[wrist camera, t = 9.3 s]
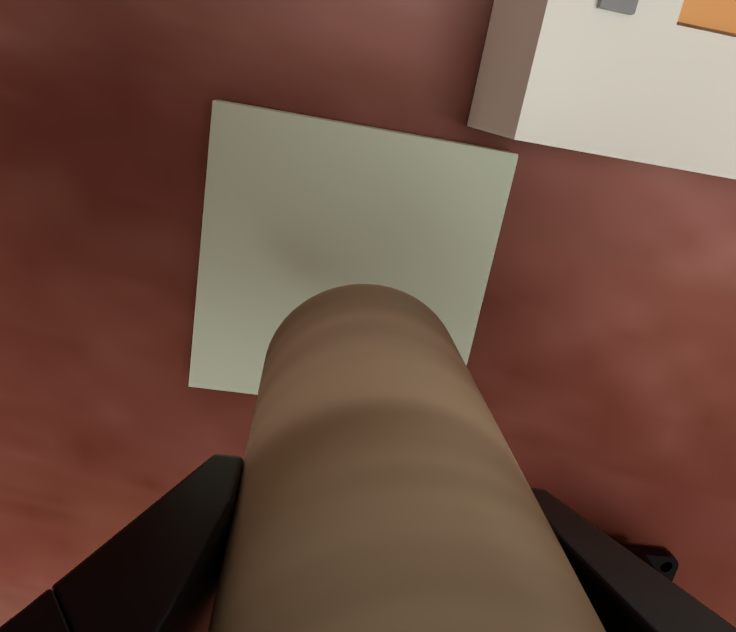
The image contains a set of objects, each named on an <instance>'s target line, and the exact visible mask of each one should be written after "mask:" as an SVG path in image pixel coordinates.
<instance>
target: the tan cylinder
mask: <svg viewBox="0 0 736 632" xmlns="http://www.w3.org/2000/svg"><path fill="white" fill-rule="evenodd" d="M208 632H606V631H605V629H604V627H603V625H602V623H601V621H600V619H599V617H598V615H597V614H596V612H595V610H594V608H593V606H592V604H591V602H590V600H589V598H588V596H587V595H586V593H585V591H584V589H583V587H582V585H581V583H580V581H579V579H578V577H577V576H576V574H575V572H574V570H573V568H572V566H571V564H570V562H569V560H568V558H567V557H566V555H565V553H564V551H563V549H562V547H561V545H560V543H559V541H558V539H557V538H556V536H555V534H554V532H553V530H552V528H551V526H550V524H549V522H548V520H547V518H546V517H545V515H544V513H543V511H542V509H541V507H540V505H539V503H538V501H537V499H536V498H535V496H534V494H533V492H532V490H531V488H530V486H529V484H528V482H527V480H526V479H525V477H524V475H523V473H522V471H521V469H520V467H519V465H518V463H517V461H516V460H515V458H514V456H513V454H512V452H511V450H510V448H509V446H508V444H507V442H506V441H505V439H504V437H503V435H502V433H501V431H500V429H499V427H498V425H497V423H496V422H495V420H494V418H493V416H492V414H491V412H490V410H489V408H488V406H487V404H486V402H485V401H484V399H483V397H482V395H481V393H480V391H479V389H478V387H477V385H476V383H475V382H474V380H473V378H472V376H471V374H470V372H469V370H468V368H467V366H466V364H465V363H464V361H463V359H462V357H461V355H460V353H459V351H458V349H457V347H456V345H455V344H454V342H453V340H452V338H451V336H450V334H449V332H448V331H447V329H446V327H445V326H444V324H443V322H442V321H441V320H440V319H439V318H438V316H437V315H436V314H435V313H434V312H433V311H432V310H431V309H430V308H429V307H428V306H427V305H425V304H424V303H422V302H421V301H420V300H418V299H417V298H415V297H413V296H411V295H409V294H407V293H405V292H403V291H400V290H397V289H394V288H392V287H387V286H382V285H375V284H351V285H345V286H339V287H336V288H332V289H329V290H326V291H323V292H321V293H319V294H317V295H315V296H313V297H311V298H309V299H308V300H306V301H305V302H303V303H302V304H300V305H299V306H298V307H297V308H295V309H294V310H293V311H292V312H291V313H290V314H289V315H288V316H287V317H286V318H285V319H284V320H283V322H282V323H281V324H280V326H279V327H278V329H277V330H276V332H275V334H274V336H273V337H272V339H271V341H270V344H269V347H268V350H267V352H266V357H265V362H264V366H263V371H262V376H261V381H260V385H259V390H258V395H257V400H256V404H255V409H254V414H253V419H252V423H251V428H250V433H249V438H248V443H247V447H246V452H245V457H244V462H243V469H242V474H241V479H240V484H239V488H238V493H237V498H236V503H235V508H234V512H233V517H232V522H231V526H230V530H229V535H228V538H227V543H226V547H225V552H224V557H223V562H222V567H221V571H220V576H219V581H218V586H217V590H216V595H215V600H214V605H213V609H212V614H211V619H210V624H209V629H208Z"/></svg>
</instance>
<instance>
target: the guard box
mask: <svg viewBox="0 0 736 632" xmlns="http://www.w3.org/2000/svg"><path fill="white" fill-rule="evenodd" d="M683 2H684V0H494V3H493V8H492V13H491V17H490V22H489V26H488V31H487V36H486V40H485V45H484V49H483V54H482V59H481V63H480V68H479V73H478V77H477V82H476V86H475V91H474V96H473V100H472V105H471V109H470V114H469V119H468V123H467V126H468V127H471V128H475V129H479V130H482V131H486V132H489V133H493V134H496V135H500V136H503V137H507V138H510V139H514V140H519V141H525V142H530V143H536V144H541V145H547V146H553V147H558V148H564V149H569V150H575V151H580V152H586V153H592V154H597V155H603V156H608V157H614V158H619V159H625V160H630V161H636V162H642V163H647V164H653V165H658V166H664V167H669V168H675V169H681V170H686V171H692V172H697V173H703V174H708V175H714V176H719V177H725V178H731V179H736V37H732V36H727V35H722V34H718V33H713V32H708V31H703V30H699V29H694V28H689V27H685V26H680V25H676V24H677V21H678V18H679V15H680V12H681V8H682V5H683Z"/></svg>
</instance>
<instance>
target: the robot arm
mask: <svg viewBox="0 0 736 632" xmlns="http://www.w3.org/2000/svg"><path fill="white" fill-rule="evenodd" d="M242 469H243V459H242V458H241V457H239V456H230V455H220V454H216V455H213V456H212V457H211V458H209V459H208V460H207V461H206V462H204V463H203V464H202V465H201V466H199V467H198V468H197V469H196V470H195V471H193V472H192V473H191V474H190V475H188V476H187V477H186V478H185V479H183V480H182V481H181V482H180V483H179V484H177V485H176V486H175V487H174V488H172V489H171V490H170V491H169V492H167V493H166V494H165V495H164V496H163V497H161V498H160V499H159V500H158V501H156V502H155V503H154V504H153V505H151V506H150V507H149V508H148V509H147V510H145V511H144V512H143V513H142V514H140V515H139V516H138V517H137V518H135V519H134V520H133V521H132V522H131V523H129V524H128V525H127V526H126V527H124V528H123V529H122V530H121V531H119V532H118V533H117V534H116V535H115V536H113V537H112V538H111V539H110V540H108V541H107V542H106V543H105V544H103V545H102V546H101V547H100V548H99V549H97V550H96V551H95V552H94V553H92V554H91V555H90V556H89V557H87V558H86V559H85V560H84V561H83V562H81V563H80V564H79V565H78V566H76V567H75V568H74V569H73V570H71V571H70V572H69V573H68V574H67V575H65V576H64V577H63V578H62V579H60V580H59V581H58V582H57V583H55V584H54V585H53V587H52V590H51V589H49V590H46V591H45V592H44V593H43V594H41V595H40V596H39V597H38V598H37V599H35V600H34V601H33V602H32V603H30V604H29V605H28V606H27V607H25V608H24V609H23V610H22V611H20V612H19V613H18V614H16V615H15V616H14V617H13V618H11V619H10V620H9V621H7V622H6V623H5V624H3V625H2V626H1V627H0V632H208V629H209V624H210V619H211V614H212V609H213V605H214V600H215V595H216V590H217V586H218V581H219V576H220V571H221V567H222V562H223V557H224V552H225V547H226V543H227V538H228V535H229V530H230V526H231V522H232V517H233V512H234V508H235V503H236V498H237V493H238V488H239V484H240V479H241V474H242ZM531 490H532V492H533V494H534V496H535V498H536V499H537V501H538V503H539V505H540V507H541V509H542V511H543V513H544V515H545V517H546V518H547V520H548V522H549V524H550V526H551V528H552V530H553V532H554V534H555V536H556V538H557V539H558V541H559V543H560V545H561V547H562V549H563V551H564V553H565V555H566V557H567V558H568V560H569V562H570V564H571V566H572V568H573V570H574V572H575V574H576V576H577V577H578V579H579V581H580V583H581V585H582V587H583V589H584V591H585V593H586V595H587V596H588V598H589V600H590V602H591V604H592V606H593V608H594V610H595V612H596V614H597V615H598V617H599V619H600V621H601V623H602V625H603V627H604V629H605V631H606V632H736V628H735V627H734V626H732V625H731V624H730V623H728V622H727V621H726V620H724V619H723V618H721V617H720V616H719V615H717V614H716V613H714V612H713V611H712V610H710V609H709V608H708V607H706V606H705V605H703V604H702V603H701V602H699V601H698V600H697V599H695V598H694V597H692V596H691V595H690V594H688V593H687V592H685V591H684V590H683V589H681V588H680V587H679V586H677V585H676V584H674V583H673V582H672V580H673V578H674V576H675V573H676V571H677V569H678V561H677V560H676V558H675V557H674V556H673V554H672V553H671V552H669V551H666V550H658V549H648V548H638V547H628V546H622V545H620V544H619V543H618V542H616V541H615V540H613V539H612V538H611V537H609V536H608V535H607V534H605V533H604V532H602V531H601V530H600V529H598V528H597V527H596V526H594V525H593V524H591V523H590V522H589V521H587V520H586V519H584V518H583V517H582V516H580V515H579V514H578V513H576V512H575V511H573V510H572V509H571V508H569V507H568V506H566V505H565V504H564V503H562V502H561V501H560V500H558V499H557V498H555V497H554V496H553V495H551V494H550V493H549V492H547V491H545V490H543V489H536V488H531ZM665 562H666V563H665ZM663 563H664V564H663ZM662 564H663V565H662Z"/></svg>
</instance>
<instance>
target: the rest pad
mask: <svg viewBox="0 0 736 632" xmlns="http://www.w3.org/2000/svg"><path fill="white" fill-rule="evenodd" d="M518 156H519V154H517V153H514V152H511V151H507V150H501V149H495V148H490V147H484V146H479V145H473V144H467V143H462V142H456V141H450V140H445V139H439V138H433V137H428V136H422V135H416V134H411V133H405V132H399V131H394V130H388V129H383V128H377V127H371V126H366V125H360V124H354V123H349V122H343V121H337V120H332V119H326V118H320V117H315V116H309V115H304V114H298V113H292V112H287V111H281V110H275V109H270V108H264V107H258V106H253V105H247V104H241V103H236V102H230V101H225V100H219V99H217V100H213V102H212V114H211V126H210V137H209V149H208V161H207V173H206V185H205V197H204V209H203V221H202V232H201V244H200V256H199V268H198V280H197V292H196V304H195V316H194V327H193V339H192V351H191V363H190V375H189V387H197V388H205V389H214V390H222V391H230V392H239V393H247V394H255V395H258V390H259V385H260V381H261V376H262V371H263V366H264V362H265V357H266V352H267V350H268V347H269V344H270V341H271V339H272V337H273V336H274V334H275V332H276V330H277V329H278V327H279V326H280V324H281V323H282V322H283V320H284V319H285V318H286V317H287V316H288V315H289V314H290V313H291V312H292V311H293V310H294V309H295V308H297V307H298V306H299V305H300V304H302V303H303V302H305V301H306V300H308V299H309V298H311V297H313V296H315V295H317V294H319V293H321V292H323V291H326V290H329V289H332V288H336V287H339V286H345V285H351V284H375V285H382V286H387V287H392V288H394V289H397V290H400V291H403V292H405V293H407V294H409V295H411V296H413V297H415V298H417V299H418V300H420V301H421V302H422V303H424V304H425V305H427V306H428V307H429V308H430V309H431V310H432V311H433V312H434V313H435V314H436V315H437V316H438V318H439V319H440V320H441V321H442V322H443V324H444V326H445V327H446V329H447V331H448V332H449V334H450V336H451V338H452V340H453V342H454V344H455V345H456V347H457V349H458V351H459V353H460V355H461V357H462V359H463V361H464V363H465V364H466V366H467V362H468V358H469V354H470V350H471V346H472V342H473V338H474V334H475V330H476V326H477V322H478V318H479V314H480V310H481V306H482V302H483V298H484V294H485V289H486V285H487V281H488V277H489V273H490V269H491V265H492V261H493V257H494V253H495V249H496V245H497V241H498V237H499V233H500V229H501V225H502V221H503V217H504V213H505V209H506V205H507V201H508V197H509V193H510V188H511V184H512V180H513V176H514V172H515V168H516V164H517V160H518Z"/></svg>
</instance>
